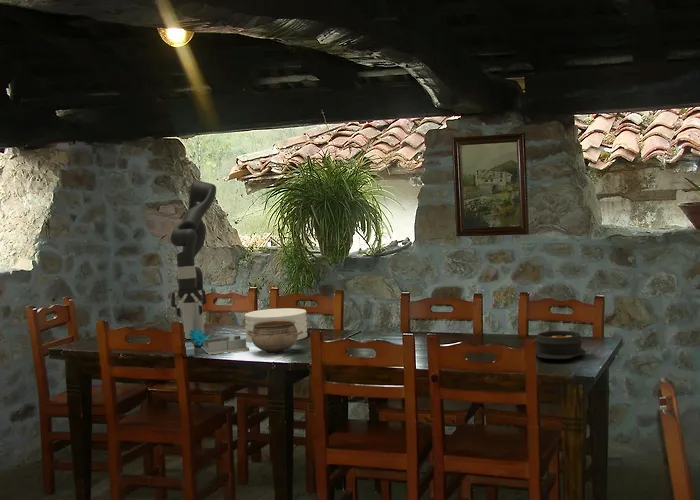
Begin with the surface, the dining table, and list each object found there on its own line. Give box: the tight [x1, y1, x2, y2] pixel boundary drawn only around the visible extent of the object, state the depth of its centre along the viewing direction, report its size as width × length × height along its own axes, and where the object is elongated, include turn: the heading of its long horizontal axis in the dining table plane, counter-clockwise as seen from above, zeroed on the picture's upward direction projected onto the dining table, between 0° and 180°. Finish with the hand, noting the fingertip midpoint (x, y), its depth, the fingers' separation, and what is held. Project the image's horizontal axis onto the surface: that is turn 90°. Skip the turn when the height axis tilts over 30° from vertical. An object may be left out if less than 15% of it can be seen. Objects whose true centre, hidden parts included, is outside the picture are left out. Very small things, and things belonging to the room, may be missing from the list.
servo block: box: [184, 341, 196, 355], centre depth 318 cm, size 11×4×5 cm, turn 21°
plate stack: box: [244, 307, 308, 343], centre depth 352 cm, size 28×28×12 cm
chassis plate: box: [200, 335, 250, 355], centre depth 325 cm, size 16×17×5 cm
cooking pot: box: [245, 319, 303, 355], centre depth 315 cm, size 25×19×12 cm
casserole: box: [534, 330, 587, 361], centre depth 280 cm, size 25×19×8 cm
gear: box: [189, 329, 211, 347], centre depth 339 cm, size 11×6×10 cm
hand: (189, 315), depth 321 cm, fingers open, 8 cm apart
